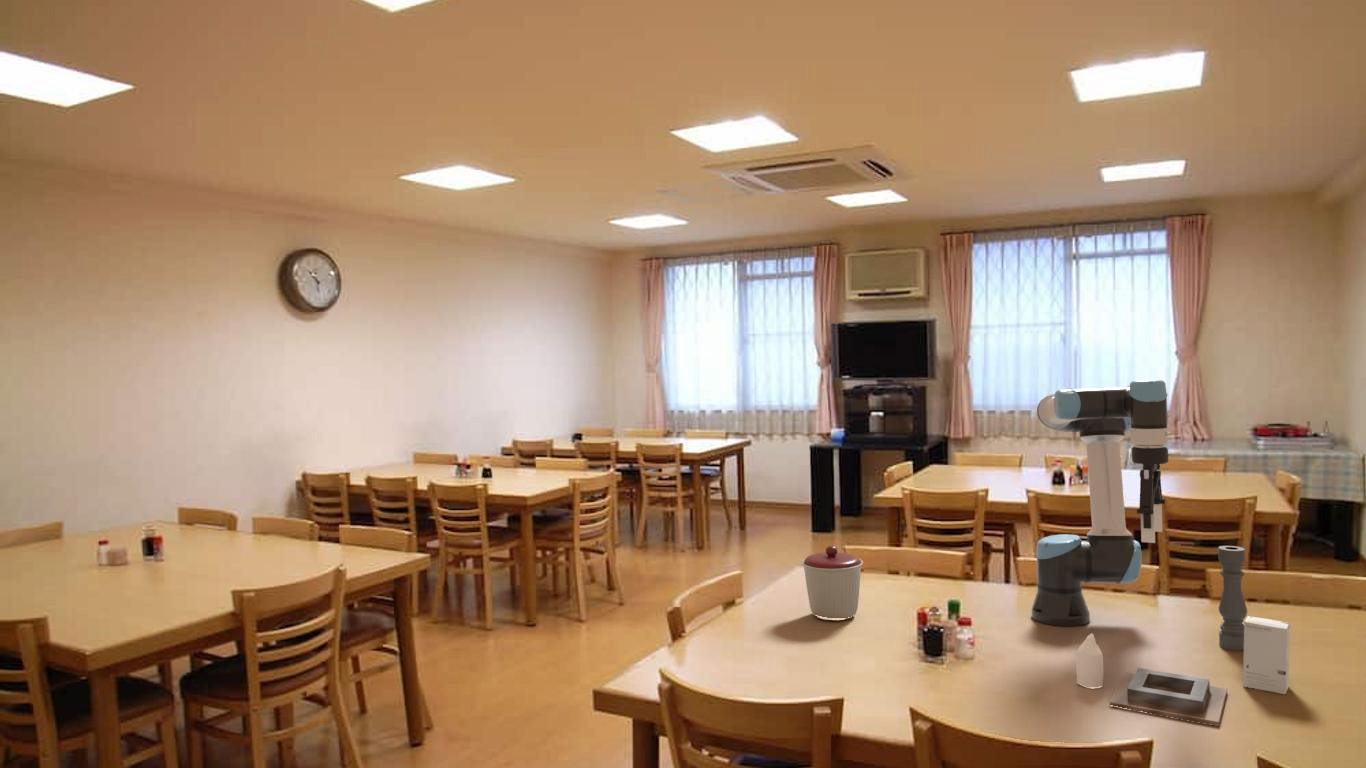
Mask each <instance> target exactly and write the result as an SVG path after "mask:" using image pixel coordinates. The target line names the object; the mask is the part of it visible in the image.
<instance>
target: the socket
mask: <svg viewBox="0 0 1366 768" xmlns="http://www.w3.org/2000/svg"><path fill="white" fill-rule="evenodd" d="M1226 694H1227V695H1228V688H1224V687H1219V686H1213V685H1211V684H1210V679H1209V678H1203V677H1197V676H1189V675H1184V674H1177V673H1171V672H1166V671H1159V670H1153V669H1147V668H1139V667H1137V669H1136V671H1135V673H1132V672H1127V671H1126V672H1125V674H1124V675H1123V678H1122V679H1121V681H1120V682H1119V685H1117V688H1116V690H1115V692H1114V693H1113V695H1112V697H1111V699H1110V701H1109V706H1110V705H1113V706H1118V707H1122V708H1127V709H1131V710H1136V711H1143V712H1147V713H1152V714H1156V715H1155V716H1157V715H1162V716H1161V717H1163V716H1168V717H1173V718H1172V719H1174V718H1178V719H1177V720H1179V719H1183V720H1182V721H1184V720H1189V721H1188V722H1190V721H1194V722H1193V723H1195V722H1200V723H1199V724H1201V723H1206V724H1212V725H1217V726H1220V723H1221V719H1222V715H1221V714H1223V711H1224V707H1225V703H1226V699H1227V695H1226ZM1225 698H1226V699H1225ZM1224 702H1225V703H1224ZM1223 706H1224V707H1223ZM1131 710H1130V711H1131ZM1222 710H1223V711H1222ZM1136 711H1135V712H1136ZM1147 713H1146V714H1147ZM1152 714H1151V715H1152ZM1168 717H1167V718H1168ZM1220 718H1221V719H1220ZM1219 722H1220V723H1219ZM1206 724H1205V725H1206ZM1217 726H1216V727H1217Z"/></svg>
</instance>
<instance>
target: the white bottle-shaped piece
mask: <svg viewBox="0 0 1366 768" xmlns="http://www.w3.org/2000/svg"><path fill="white" fill-rule="evenodd" d="M1075 665H1076V683H1077V682H1078V683H1079V684H1081V685H1083V686H1086V687H1099V686H1102V685H1103V686H1104V684H1103V683H1104V656H1103V653H1102V651H1101V648H1100V646H1099V645H1098V644H1097V643H1096V638H1095V635H1094V634H1093V633H1090V634H1089V635H1087V637H1086V638H1085V639H1084V641H1083V642H1082V643H1081V644H1080V646H1079V647H1078V649H1077V650H1076V664H1075ZM1103 686H1102V687H1103Z"/></svg>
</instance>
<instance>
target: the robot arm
mask: <svg viewBox="0 0 1366 768" xmlns="http://www.w3.org/2000/svg"><path fill="white" fill-rule="evenodd" d="M1167 398H1168V392H1167V386H1166V382H1165V381H1164V380H1161V379H1137V380H1136V379H1134V380H1132V381H1130V383H1129V386H1126V387H1125V386H1122V387H1100V388H1097V387H1096V388H1066V389H1058V390H1056V391H1055V393H1054V394H1049V395H1046V396H1045V397H1043V399H1041V400H1040V401H1039V402H1038V405H1037V407H1036V415H1037V419H1038V420H1039V421H1040V422H1041V423H1042V425H1044V426H1045V427H1047V428H1049V429H1051V430H1055V431H1058V432H1066V433H1079V439H1080V440H1081V441H1082V442H1084V444H1085V446H1086V459H1087V461H1086V462H1087V472H1088V475H1087V476H1088V488H1089V500H1090V502H1089V503H1090V504H1089V505H1090V516H1091V529H1090V530H1089V531H1088V532H1087V533H1086V540H1082V539H1081V537H1080V536H1079V535H1077V534H1067V533H1066V534H1053V535H1048V536H1045V537H1042V538H1041V539H1039V540H1038V541H1037V543H1036V551H1035V553H1036V554H1035V557H1036V558H1035V559H1036V576H1037V577H1036V579H1037V582H1036V583H1037V590H1036V591H1037V592H1036V594H1035V597H1034V600H1033V603H1032V607H1031V617H1032V619H1033V620H1035V621H1037V622H1040V623H1043V624H1046V625H1051V626H1060V627H1076V626H1084V625H1086V624H1088V623H1089V622H1090V618H1091V616H1090V615H1091V614H1090V610H1089V607H1088V605H1087V602H1086V600H1085V597H1084V594H1083V583H1087V584H1088V583H1090V584H1091V583H1092V584H1093V583H1097V584H1116V585H1119V584H1131V583H1134V582H1135V581H1137V579H1138V578H1139V575H1140V572H1141V569H1142V562H1143V561H1142V557H1143V556H1142V555H1143V554H1142V550H1141V549H1142V548H1141V547H1142V546H1141V544H1140V542H1139V541H1137V540H1135V539H1133V538H1134V537H1133V533H1131V531H1129V530H1128V529H1127V527H1126V525H1127V524H1126V512H1125V511H1126V510H1125V500H1124V498H1125V497H1124V487H1123V486H1124V485H1123V473H1122V472H1123V471H1122V461H1121V460H1122V459H1121V446H1120V443H1121V442H1122V441H1123V439H1125V438H1126V437H1125V433H1126V432H1128V431H1129V430H1130V443H1131V445H1133V446H1132V447H1131V461H1132V463H1134V464H1139V465H1140V464H1141V465H1142V469H1140V471H1139V478H1140V482H1139V483H1140V484H1139V485H1140V486H1139V487H1140V488H1139V505H1138V507H1139V508H1138V509H1136V513H1137V514H1139V515H1140V533H1141V534H1140V537H1141V539H1140V541H1141V543H1150V544H1156V532H1159V533H1163V508H1162V506H1163V505H1165V504H1166V499H1163V497H1164V496H1163V492H1162V480H1161V476H1162V471H1161V470H1160V468H1161V465H1164V464H1167V463H1168V462H1169V448H1168V447H1167V446H1166V445H1168V437H1170V436H1171V432H1170V431H1168V406H1167V404H1168V402H1167V401H1168V399H1167Z"/></svg>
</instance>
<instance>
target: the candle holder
mask: <svg viewBox="0 0 1366 768" xmlns="http://www.w3.org/2000/svg"><path fill="white" fill-rule="evenodd" d="M1217 550H1218V553H1217V554H1218V561H1219V564H1220V565H1221V567H1222V569H1221V570H1220V571H1219V574H1220V575H1221V576H1222V577H1223V578H1222V580H1223V581H1222V583H1223V587H1222V588H1223V589H1222V593H1221V598H1220V601H1219V605H1218V611H1219V614H1220V615H1221V617H1222V620H1223V622H1222V624H1220V626H1219V628H1220V630H1219V632H1218V636H1219V638H1218V641H1219V643H1218V644H1219V647H1220V648H1222V649H1225V650H1228V651H1235V650H1236V651H1237V652H1244V651H1243V650H1244V622H1245V619H1246V618H1247V615H1248V608H1247V604H1246V601H1245V597H1244V594H1243V591H1242V578H1243V577H1244V576H1245V572H1243V570H1242V568H1243V567H1244V565H1245V563H1246V549H1245V548H1244V547H1241V546H1235V545H1219V546H1218V549H1217Z"/></svg>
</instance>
